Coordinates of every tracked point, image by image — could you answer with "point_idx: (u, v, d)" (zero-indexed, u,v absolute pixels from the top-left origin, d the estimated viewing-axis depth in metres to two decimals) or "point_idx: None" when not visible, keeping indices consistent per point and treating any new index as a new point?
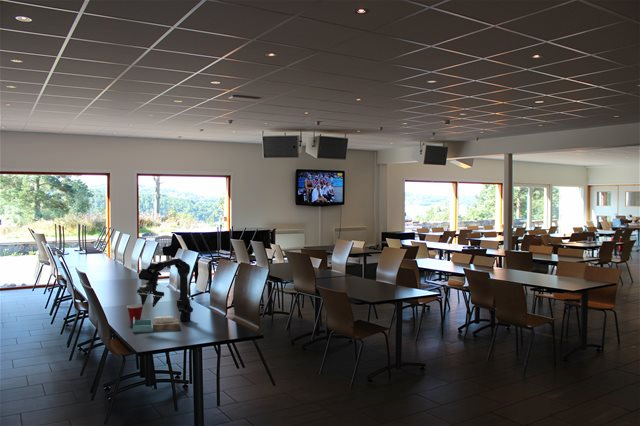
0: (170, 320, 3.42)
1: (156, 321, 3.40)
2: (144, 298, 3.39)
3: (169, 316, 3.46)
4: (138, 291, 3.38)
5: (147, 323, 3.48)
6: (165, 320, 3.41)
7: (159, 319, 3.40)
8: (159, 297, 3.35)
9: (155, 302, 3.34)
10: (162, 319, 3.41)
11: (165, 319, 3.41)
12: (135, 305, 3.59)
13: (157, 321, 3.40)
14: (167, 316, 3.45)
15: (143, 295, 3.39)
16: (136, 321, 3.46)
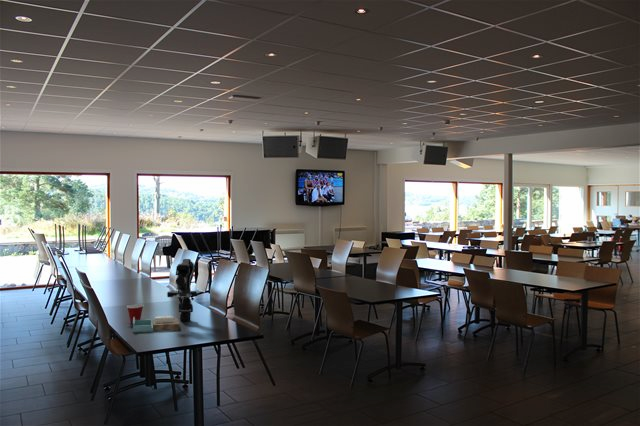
0: (170, 320, 3.42)
1: (156, 321, 3.40)
2: (181, 300, 3.47)
3: (169, 316, 3.46)
4: (170, 295, 3.41)
5: (147, 323, 3.48)
6: (165, 320, 3.41)
7: (159, 319, 3.40)
8: None
9: (184, 302, 3.47)
10: (162, 319, 3.41)
11: (165, 319, 3.41)
12: (135, 305, 3.59)
13: (157, 321, 3.40)
14: (167, 316, 3.45)
15: None
16: (136, 321, 3.46)
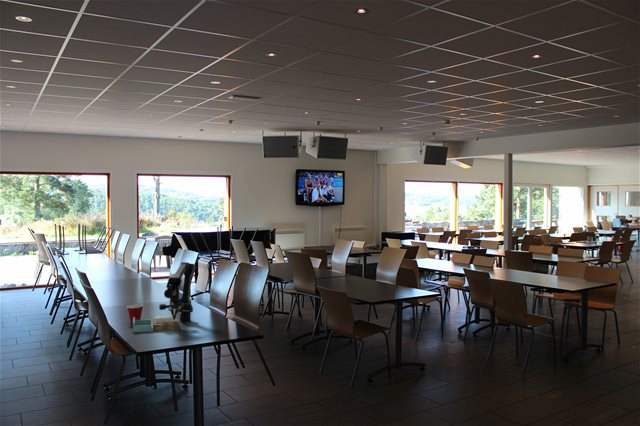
0: (170, 320, 3.42)
1: (156, 321, 3.40)
2: (173, 312, 3.46)
3: (169, 316, 3.45)
4: (162, 308, 3.40)
5: (147, 323, 3.48)
6: (165, 320, 3.41)
7: (159, 319, 3.40)
8: None
9: (176, 314, 3.46)
10: (162, 319, 3.41)
11: (165, 319, 3.41)
12: (135, 305, 3.59)
13: (157, 321, 3.40)
14: (167, 316, 3.45)
15: (173, 310, 3.45)
16: (136, 321, 3.46)
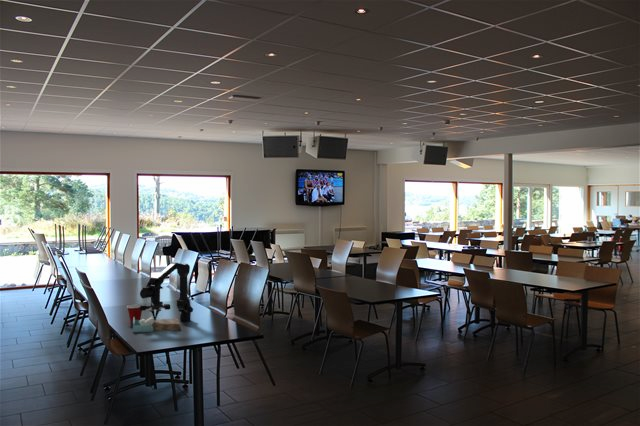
0: (152, 321, 3.38)
1: None
2: None
3: (149, 318, 3.41)
4: (142, 309, 3.36)
5: None
6: (148, 324, 3.38)
7: None
8: None
9: None
10: (141, 322, 3.36)
11: (147, 323, 3.38)
12: (135, 305, 3.59)
13: None
14: (148, 319, 3.41)
15: None
16: (136, 321, 3.46)
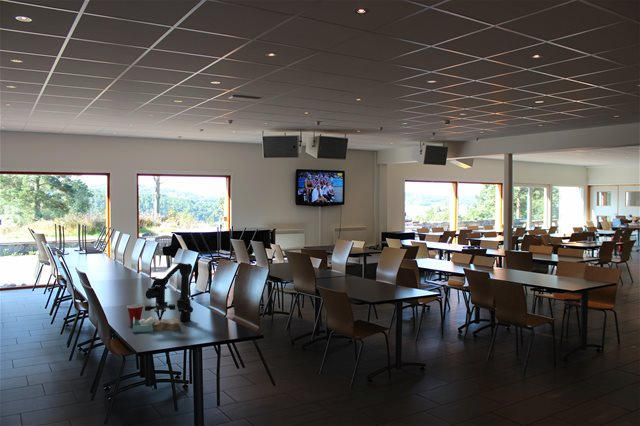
0: (152, 321, 3.39)
1: None
2: None
3: (149, 318, 3.41)
4: (148, 309, 3.37)
5: None
6: (148, 324, 3.38)
7: None
8: None
9: None
10: (141, 322, 3.36)
11: (147, 323, 3.38)
12: (135, 305, 3.59)
13: None
14: (147, 319, 3.41)
15: None
16: (136, 321, 3.46)
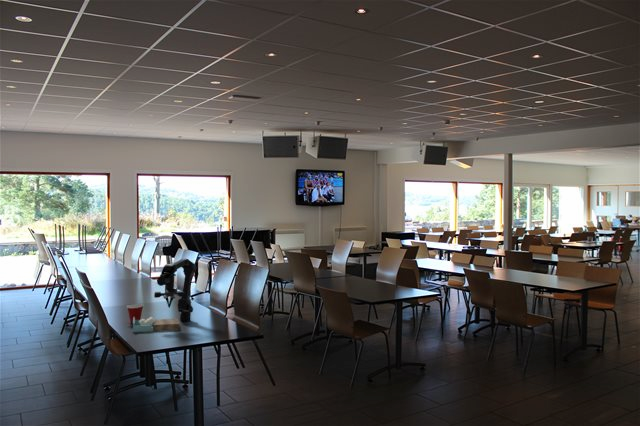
0: (152, 321, 3.39)
1: None
2: (168, 300, 3.46)
3: (149, 318, 3.41)
4: (157, 296, 3.40)
5: None
6: (148, 324, 3.38)
7: None
8: None
9: (171, 302, 3.46)
10: (141, 322, 3.36)
11: (147, 323, 3.38)
12: (135, 305, 3.59)
13: None
14: (147, 319, 3.41)
15: None
16: (136, 321, 3.46)
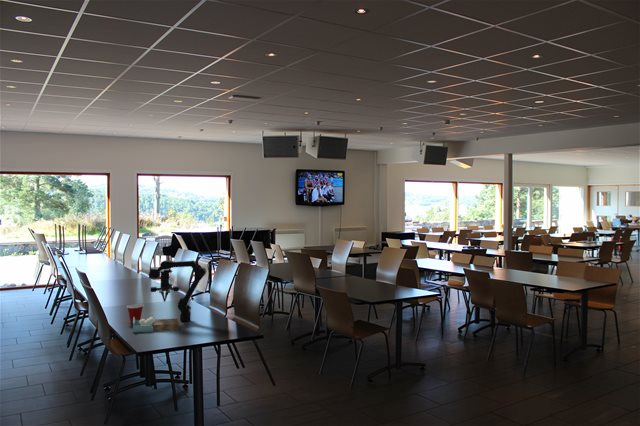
0: (152, 321, 3.39)
1: None
2: None
3: (149, 318, 3.41)
4: (153, 290, 3.59)
5: None
6: (148, 324, 3.38)
7: None
8: None
9: (166, 297, 3.65)
10: (141, 322, 3.36)
11: (147, 323, 3.38)
12: (135, 305, 3.59)
13: None
14: (147, 319, 3.41)
15: (163, 292, 3.64)
16: (136, 321, 3.46)
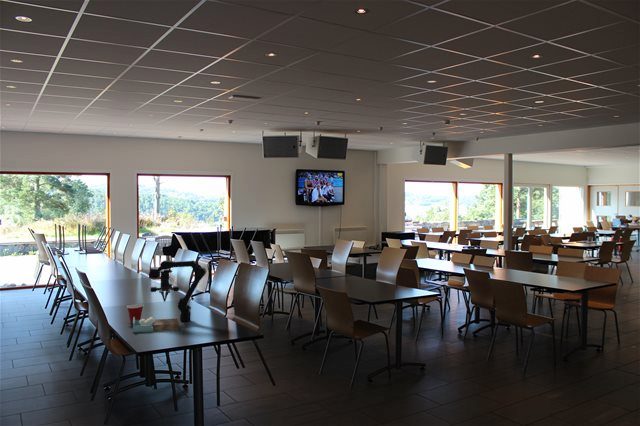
0: (152, 321, 3.39)
1: None
2: None
3: (149, 318, 3.41)
4: (153, 290, 3.59)
5: None
6: (148, 324, 3.38)
7: None
8: None
9: (166, 297, 3.65)
10: (141, 322, 3.36)
11: (147, 323, 3.38)
12: (135, 305, 3.59)
13: None
14: (147, 319, 3.41)
15: (163, 292, 3.64)
16: (136, 321, 3.46)
